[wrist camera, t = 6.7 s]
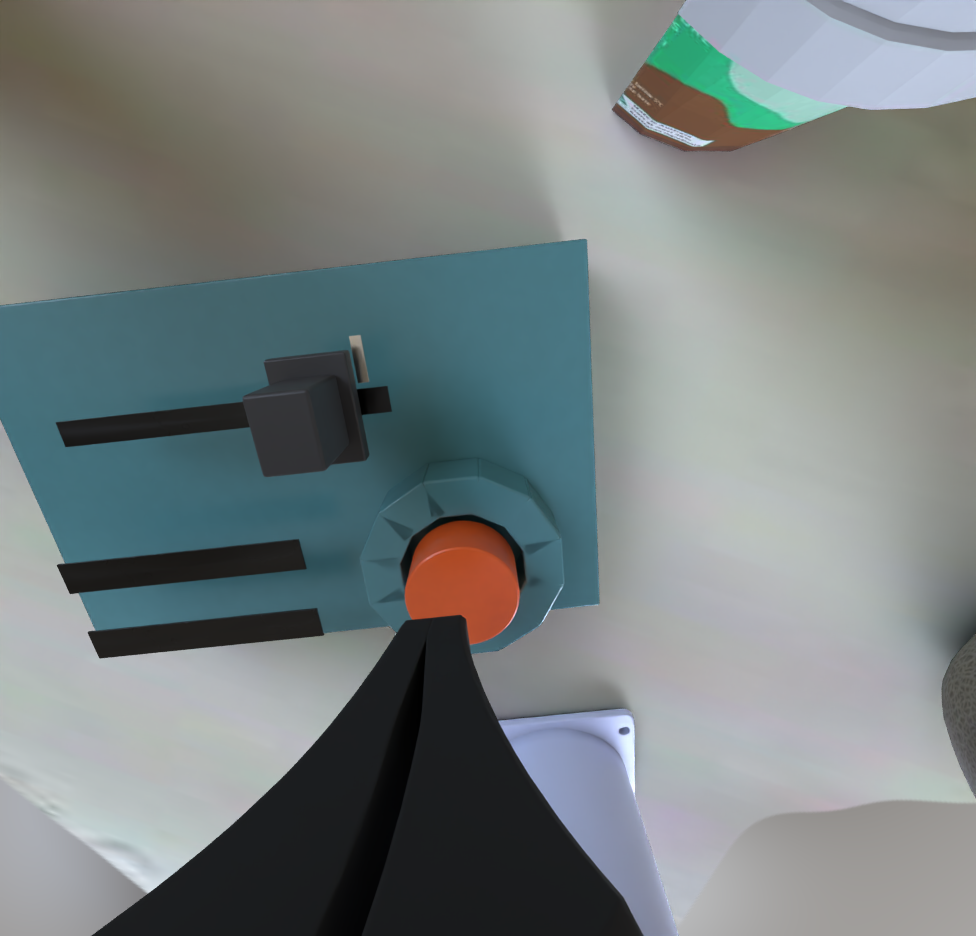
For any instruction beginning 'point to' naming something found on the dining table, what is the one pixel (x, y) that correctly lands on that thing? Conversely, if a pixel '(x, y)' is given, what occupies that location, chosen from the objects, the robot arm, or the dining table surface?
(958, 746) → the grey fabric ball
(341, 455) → the slider
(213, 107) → the dining table surface
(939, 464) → the dining table surface
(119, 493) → the teal control box
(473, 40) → the dining table surface
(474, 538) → the button
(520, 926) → the robot arm
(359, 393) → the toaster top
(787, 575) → the dining table surface
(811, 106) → the food container
